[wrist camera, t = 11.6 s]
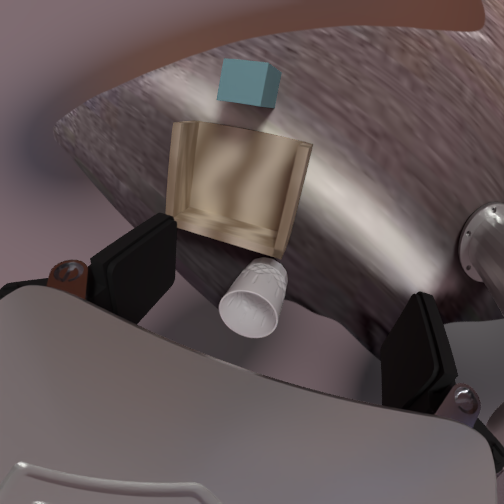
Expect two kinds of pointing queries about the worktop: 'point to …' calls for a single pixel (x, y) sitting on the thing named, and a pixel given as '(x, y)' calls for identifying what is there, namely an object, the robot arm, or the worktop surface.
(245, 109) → the worktop surface
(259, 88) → the teal block
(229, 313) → the white cup
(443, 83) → the worktop surface
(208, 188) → the birch box
